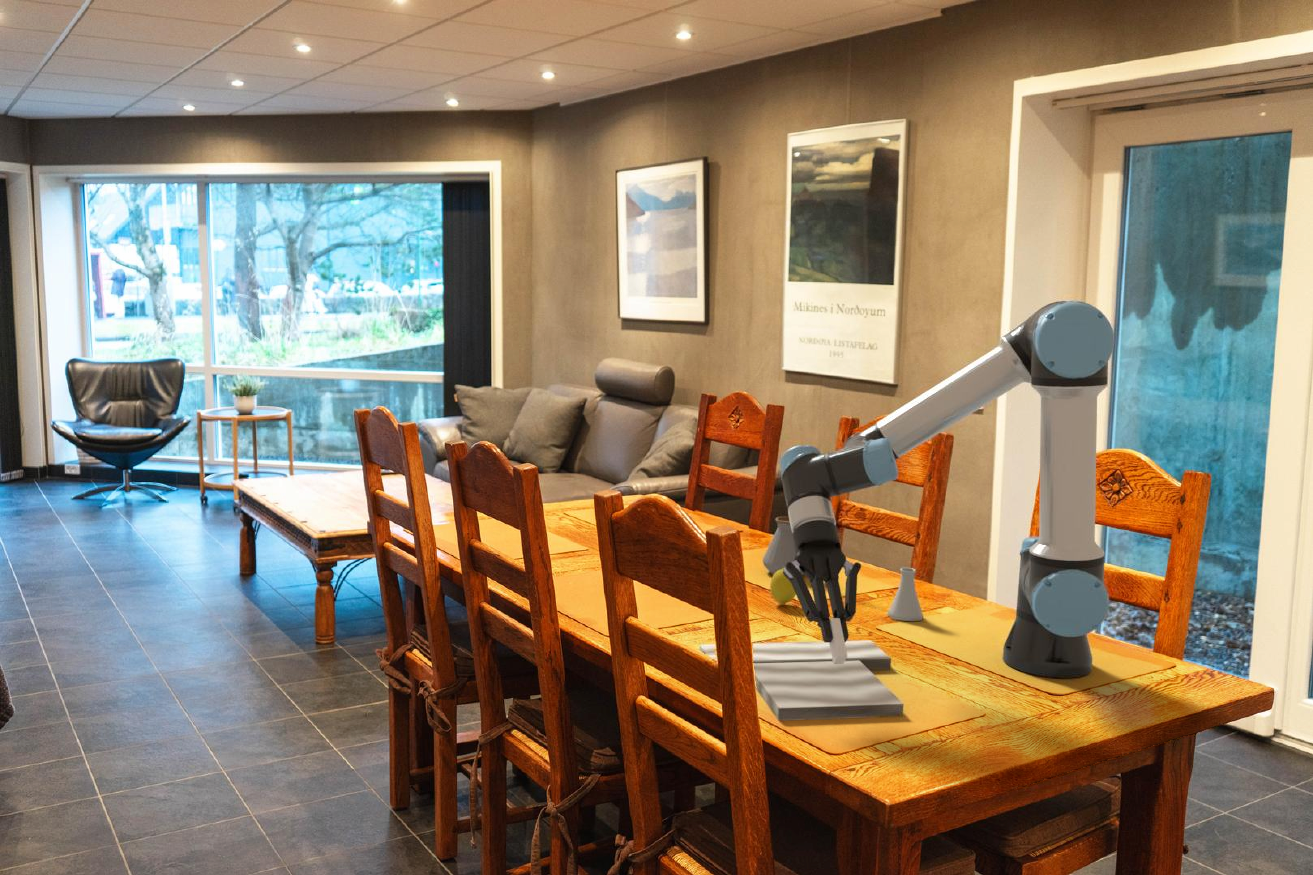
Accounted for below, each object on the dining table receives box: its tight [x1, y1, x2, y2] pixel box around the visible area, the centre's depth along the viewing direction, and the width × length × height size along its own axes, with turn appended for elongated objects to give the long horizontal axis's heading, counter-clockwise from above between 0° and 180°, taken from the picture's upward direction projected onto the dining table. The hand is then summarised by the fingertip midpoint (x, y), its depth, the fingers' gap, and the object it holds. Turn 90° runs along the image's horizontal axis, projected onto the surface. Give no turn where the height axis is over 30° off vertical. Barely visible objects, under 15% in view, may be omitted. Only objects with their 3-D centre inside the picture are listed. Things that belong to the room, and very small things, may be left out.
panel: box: [754, 660, 904, 721], centre depth 180 cm, size 20×20×2 cm
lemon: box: [769, 568, 797, 606], centre depth 230 cm, size 6×6×8 cm
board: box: [699, 639, 892, 671], centre depth 195 cm, size 10×32×2 cm, turn 99°
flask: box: [886, 567, 924, 622], centre depth 224 cm, size 7×7×10 cm
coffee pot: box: [762, 516, 804, 576], centre depth 252 cm, size 21×12×15 cm, turn 30°
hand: (840, 660), depth 170 cm, fingers closed
